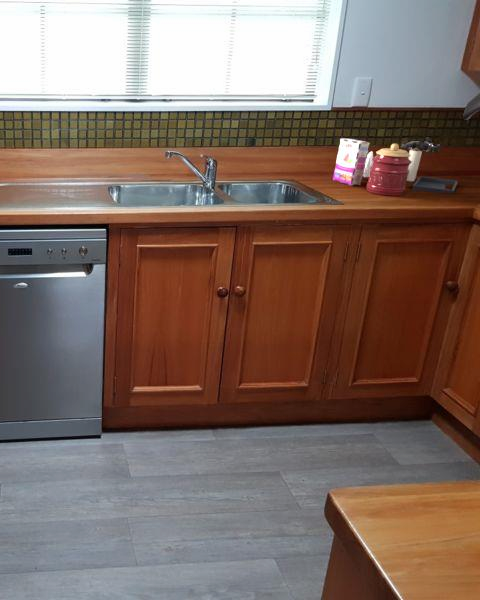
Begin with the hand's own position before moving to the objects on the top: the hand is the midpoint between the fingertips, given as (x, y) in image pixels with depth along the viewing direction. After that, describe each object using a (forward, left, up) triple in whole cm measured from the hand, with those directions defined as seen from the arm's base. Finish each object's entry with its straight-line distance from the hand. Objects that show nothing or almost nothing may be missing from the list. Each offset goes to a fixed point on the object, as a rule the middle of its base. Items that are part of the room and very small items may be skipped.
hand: (418, 148), depth 248 cm
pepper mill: (0, +9, -12) cm, 15 cm away
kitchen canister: (+4, +39, -12) cm, 41 cm away
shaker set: (+13, +17, -12) cm, 25 cm away
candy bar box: (+19, +31, -12) cm, 38 cm away
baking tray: (-10, +17, -12) cm, 23 cm away
